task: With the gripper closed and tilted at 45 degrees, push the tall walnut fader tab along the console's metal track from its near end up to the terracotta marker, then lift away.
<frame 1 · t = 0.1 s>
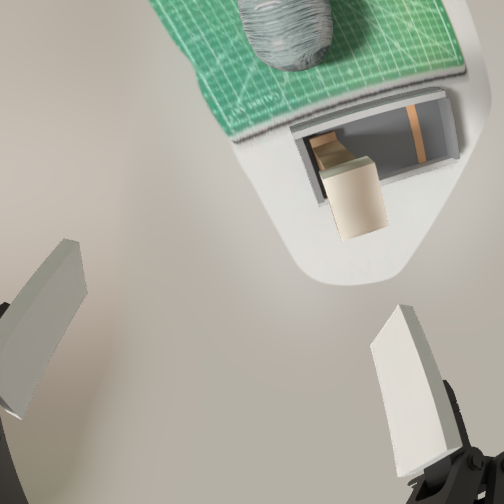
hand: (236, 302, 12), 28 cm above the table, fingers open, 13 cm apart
fader: (341, 178, 28), point 8 cm above the table, slide at 0.0 cm
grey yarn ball: (282, 19, 27), on the table
console: (376, 139, 34), on the table
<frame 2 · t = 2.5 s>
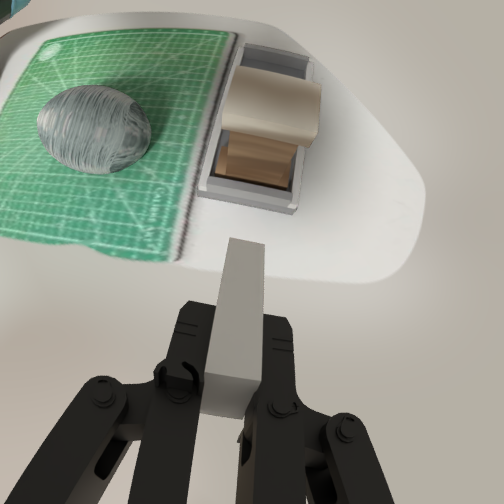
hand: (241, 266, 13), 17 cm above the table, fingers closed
fader: (261, 140, 24), point 8 cm above the table, slide at 0.0 cm
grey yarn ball: (102, 146, 31), on the table
console: (260, 126, 33), on the table
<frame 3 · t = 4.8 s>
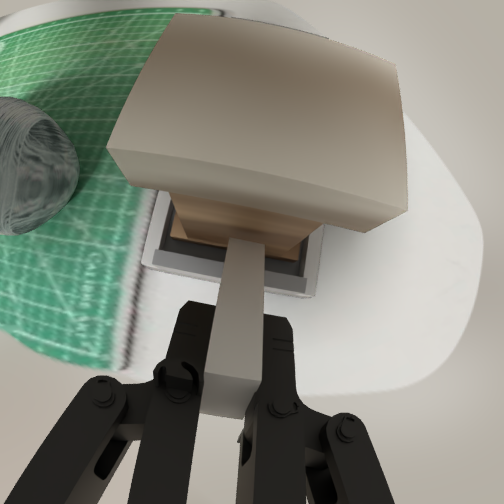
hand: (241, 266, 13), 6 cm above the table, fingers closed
fader: (248, 186, 12), point 8 cm above the table, slide at 0.3 cm, touching gripper
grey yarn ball: (24, 184, 19), on the table
console: (253, 145, 21), on the table
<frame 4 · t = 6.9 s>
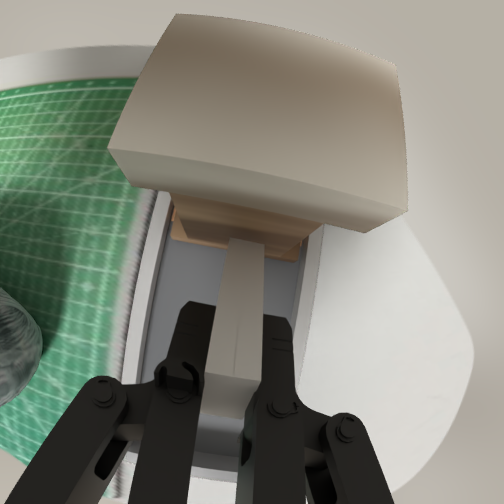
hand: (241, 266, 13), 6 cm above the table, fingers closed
fader: (249, 186, 12), point 8 cm above the table, slide at 11.8 cm, touching gripper
console: (221, 308, 19), on the table
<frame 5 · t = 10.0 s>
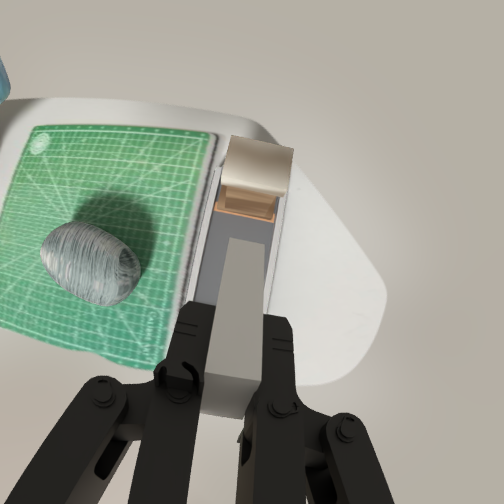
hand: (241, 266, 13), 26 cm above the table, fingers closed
fader: (251, 185, 33), point 8 cm above the table, slide at 13.0 cm
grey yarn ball: (100, 267, 38), on the table
console: (236, 252, 40), on the table
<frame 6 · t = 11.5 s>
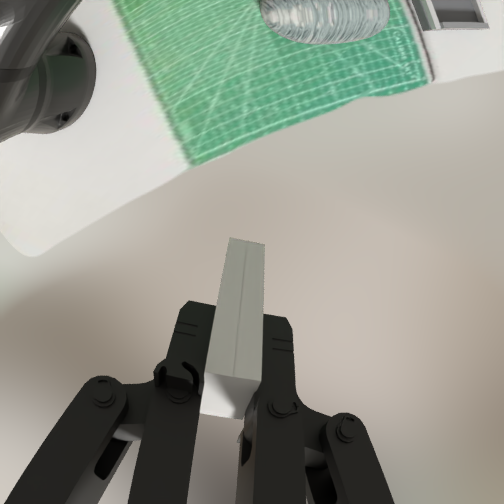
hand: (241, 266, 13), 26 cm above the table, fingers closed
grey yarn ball: (318, 13, 26), on the table
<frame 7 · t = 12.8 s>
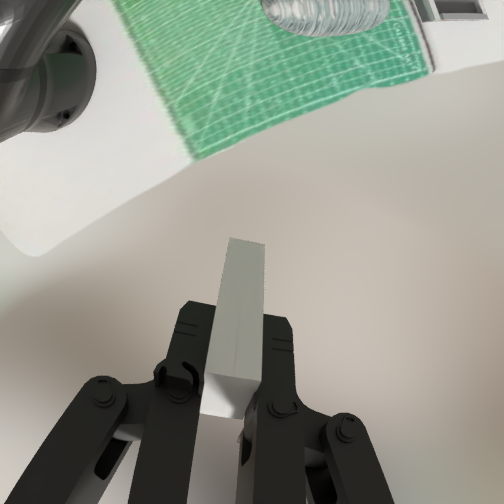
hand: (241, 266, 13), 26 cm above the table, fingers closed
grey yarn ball: (319, 6, 26), on the table
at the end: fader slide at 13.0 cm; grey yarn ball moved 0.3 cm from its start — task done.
